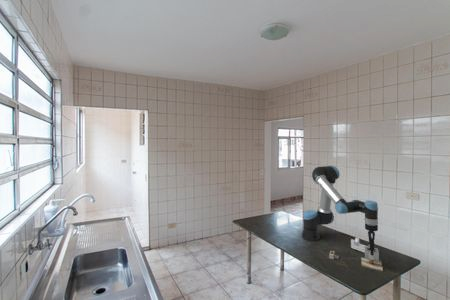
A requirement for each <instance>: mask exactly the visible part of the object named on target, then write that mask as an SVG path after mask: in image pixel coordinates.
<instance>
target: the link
mask: <svg viewBox="0 0 450 300" xmlns="http://www.w3.org/2000/svg"><path fill="white" fill-rule="evenodd" d="M366 246H367V245H365V253H364V258H367V259H370V255H369V250H368V249H370V247H369V246H368V247H366ZM374 260H378V261H380V253H379V248H378V247H374Z"/></svg>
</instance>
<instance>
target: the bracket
mask: <svg viewBox="0 0 450 300" xmlns="http://www.w3.org/2000/svg"><path fill="white" fill-rule="evenodd" d="M365 246H366V247H369V245H365V244H362V243H360V238H359V237H355V239H352V238H351V239H350V248H352V249H354V250H357V251H359V252H362V253H364V254H365Z"/></svg>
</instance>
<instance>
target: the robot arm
mask: <svg viewBox="0 0 450 300" xmlns="http://www.w3.org/2000/svg"><path fill="white" fill-rule="evenodd" d="M340 175H341V174H340V171H339V169H338V168H337V166H334V165H328V166H327V165H325V166H323V165H322V166H317V167H315V168H314V169H313V170H312V173H311V177H312V180H313V182H314V183H315V184H317V185H318V186H319V187H320V188H321V194H320V201H319V203H320V204H319V207H317V210H313V209H309V210H306V211H305V210H304V212H303V215H302V219H303V221H302V222H303V223H302V225H303V229H302V231H301V238H302V239H303V240H306V241H307V242H308V241H310V242H316V241H319V240H320V233H319V231H318V226H323V225H330V224H332V223H333V222H334V220H335V215H334V212H333V211H332V209H331V204H332V202H333V203H334V209H335V211H336V213H337V214H340V215H341V214H342V215H343V214H344V215H345V214H350V213H352V214H353V213H359V212H360V213H363V214H364V218H363V220H364V222H365V223H364V229H365V230H366V231H367V235H368V247H370V249H368V250H369V255H370V259H372V260H374V248H375V236H376V234H375V232H377V231H378V230H379V217H378V216H379V215H378V214H379V206H378V203H377V201H374V200H365V201H361V200H359V199H352V200H351V201H347V200H346V199H345V198H344V197H343V196H342V195H341V194H340V193H339V192H338V190H337V189H336V188H335V187H334V184H336V180H338V179H339V178H340Z"/></svg>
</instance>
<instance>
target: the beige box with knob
mask: <svg viewBox="0 0 450 300" xmlns="http://www.w3.org/2000/svg"><path fill="white" fill-rule="evenodd" d="M335 253H336V251H334V250H333V251H332V250H330V251H329V254H328V257H329V259H331V260H334V259H335V258H334V255H336V254H335Z"/></svg>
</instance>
